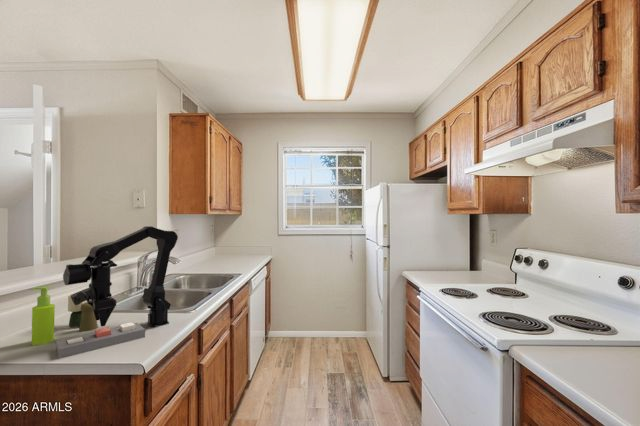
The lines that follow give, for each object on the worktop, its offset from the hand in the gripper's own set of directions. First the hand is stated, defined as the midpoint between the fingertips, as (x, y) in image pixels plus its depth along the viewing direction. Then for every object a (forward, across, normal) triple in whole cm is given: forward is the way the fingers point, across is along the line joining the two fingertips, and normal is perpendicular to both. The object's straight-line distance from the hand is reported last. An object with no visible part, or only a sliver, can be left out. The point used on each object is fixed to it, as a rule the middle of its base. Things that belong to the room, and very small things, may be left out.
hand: (100, 323), depth 109 cm
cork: (+6, -16, -1) cm, 17 cm away
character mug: (+6, -25, -3) cm, 26 cm away
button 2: (+4, +5, +7) cm, 10 cm away
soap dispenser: (+6, -12, -15) cm, 20 cm away
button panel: (+6, +5, 0) cm, 8 cm away
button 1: (+6, +5, -8) cm, 11 cm away
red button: (+4, +5, 0) cm, 7 cm away
